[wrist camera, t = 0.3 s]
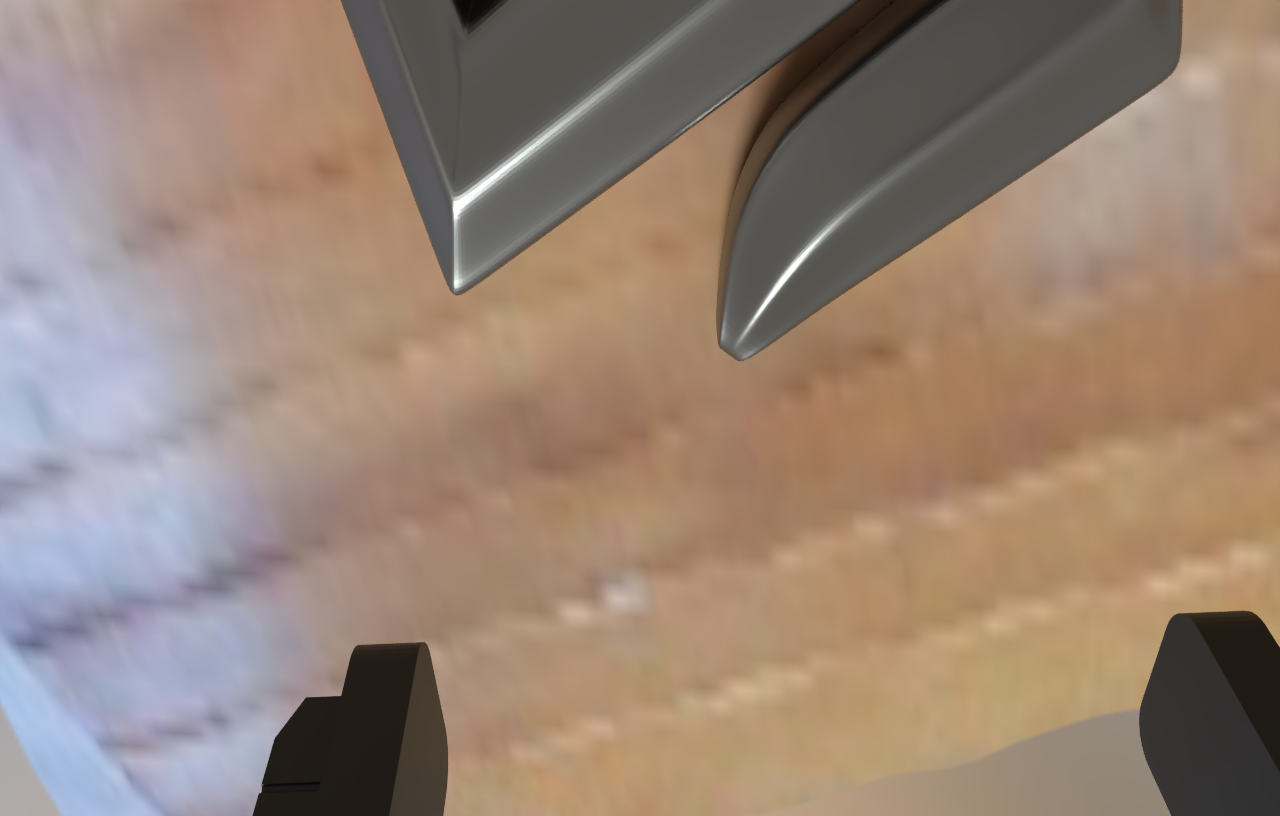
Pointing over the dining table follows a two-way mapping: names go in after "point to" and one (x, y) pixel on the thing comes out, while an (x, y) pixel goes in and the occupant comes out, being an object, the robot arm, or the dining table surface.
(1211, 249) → the dining table surface
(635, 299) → the dining table surface
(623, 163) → the emblem
